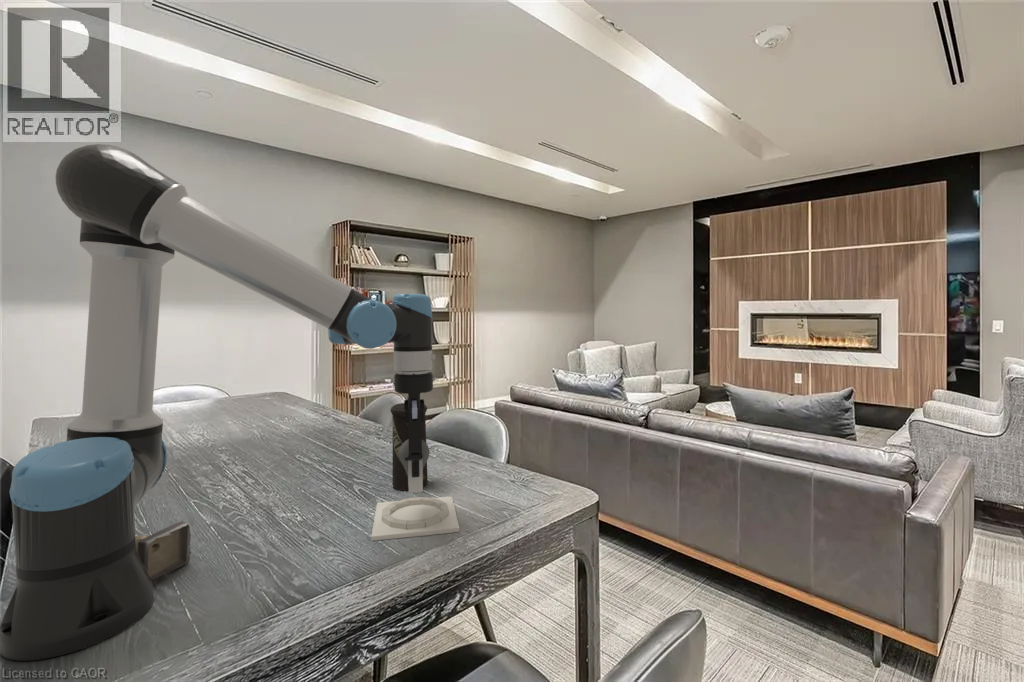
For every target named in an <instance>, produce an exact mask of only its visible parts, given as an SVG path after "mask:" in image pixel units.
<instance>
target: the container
mask: <svg viewBox="0 0 1024 682" xmlns="http://www.w3.org/2000/svg"><path fill="white" fill-rule="evenodd" d="M424 407H425V408H424V411H423V420H424V421H423V423H422V424H421V427H422V440H423V441H425V442H426V443H427V430H426V429H427V427H426V426H427V425H426V423H427V419H426V413H427V411H428V406H427V405H426V404H425V403H424ZM390 413H391V416H392V417H391V420H392V423H391V424H392V425H391V426H392V432H391V433H392V467H391V468H392V476H391V477H392V487H393V489H395V490H398V491H409V486H408V476H407V474H406V469H405V467H404V465H403V464H402V462H401V460H400V457H399V450H400V447H401V446H402V444H403V443H404V442H405V441H406V440H408V439H409V434H408V425H407V424H406V412H405V410H404V402H402V403H397V404H394V405H393V406H391V408H390ZM427 485H428V461H427V462H426V464H425V466H424V468H423V488H424V487H426V486H427Z"/></svg>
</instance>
